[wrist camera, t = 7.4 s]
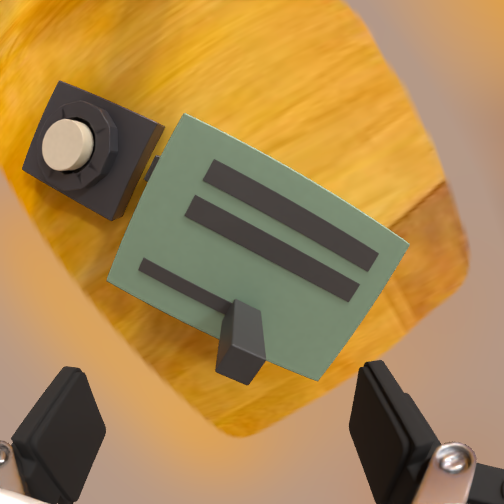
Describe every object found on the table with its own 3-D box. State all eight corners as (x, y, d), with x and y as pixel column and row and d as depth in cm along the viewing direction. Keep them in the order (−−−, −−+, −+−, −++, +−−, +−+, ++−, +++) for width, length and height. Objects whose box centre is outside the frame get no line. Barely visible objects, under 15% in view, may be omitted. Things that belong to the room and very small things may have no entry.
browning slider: (221, 321, 17) (214, 372, 13) (235, 297, 17) (231, 344, 12) (247, 333, 18) (248, 386, 13) (261, 310, 17) (267, 359, 13)
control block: (36, 168, 24) (10, 170, 20) (72, 85, 22) (48, 76, 18) (122, 216, 25) (102, 225, 21) (165, 126, 23) (151, 119, 19)
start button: (47, 159, 20) (35, 159, 18) (66, 115, 19) (54, 112, 18) (81, 177, 21) (70, 178, 19) (102, 131, 20) (91, 129, 18)
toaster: (140, 239, 25) (93, 274, 17) (196, 127, 23) (169, 105, 15) (297, 319, 28) (317, 382, 19) (359, 218, 25) (411, 244, 17)
